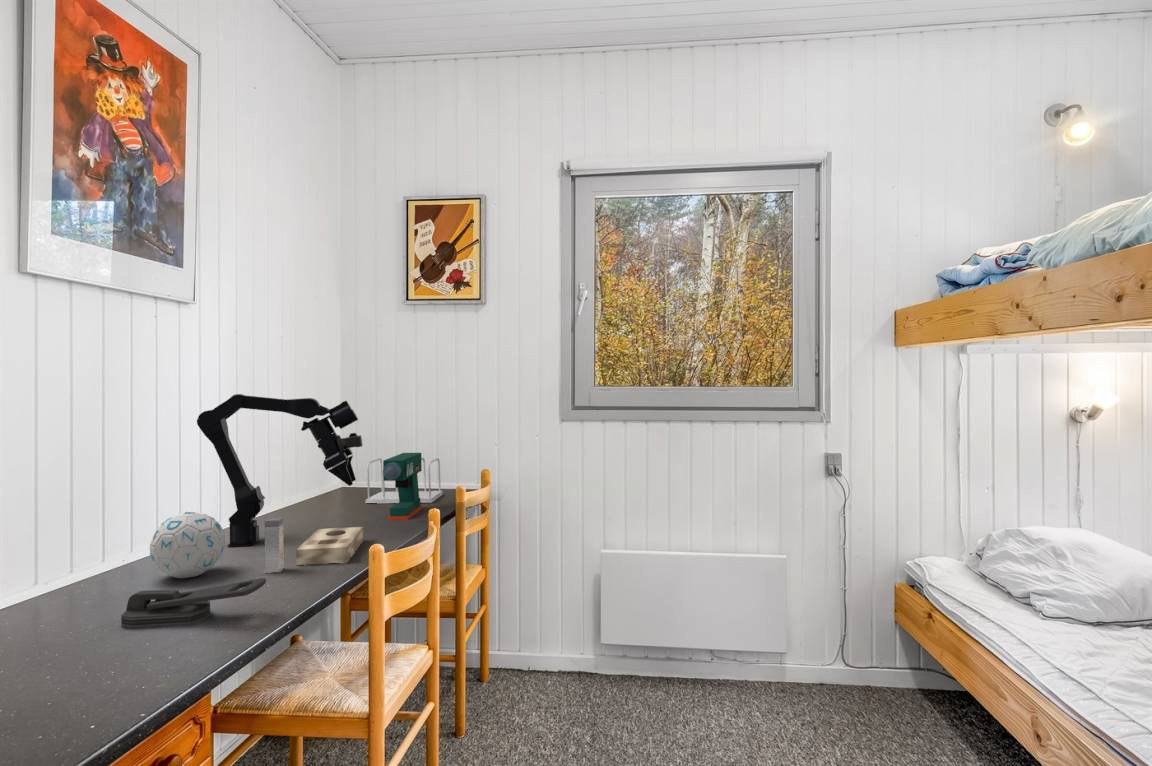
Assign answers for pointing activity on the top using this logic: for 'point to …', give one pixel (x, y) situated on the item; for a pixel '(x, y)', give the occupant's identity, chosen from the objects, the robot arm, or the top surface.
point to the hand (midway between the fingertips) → (352, 482)
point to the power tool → (404, 483)
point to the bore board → (330, 546)
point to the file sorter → (394, 496)
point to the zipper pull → (180, 604)
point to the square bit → (274, 545)
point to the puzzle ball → (187, 544)
